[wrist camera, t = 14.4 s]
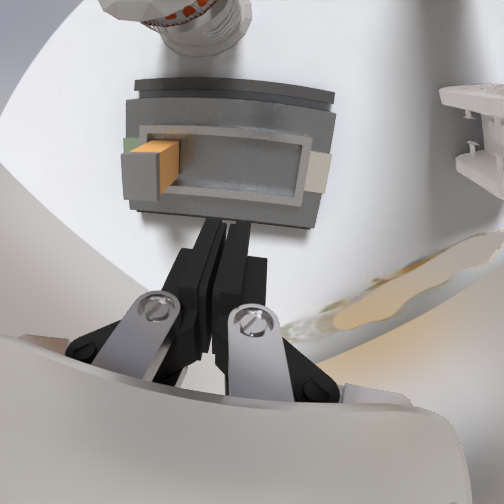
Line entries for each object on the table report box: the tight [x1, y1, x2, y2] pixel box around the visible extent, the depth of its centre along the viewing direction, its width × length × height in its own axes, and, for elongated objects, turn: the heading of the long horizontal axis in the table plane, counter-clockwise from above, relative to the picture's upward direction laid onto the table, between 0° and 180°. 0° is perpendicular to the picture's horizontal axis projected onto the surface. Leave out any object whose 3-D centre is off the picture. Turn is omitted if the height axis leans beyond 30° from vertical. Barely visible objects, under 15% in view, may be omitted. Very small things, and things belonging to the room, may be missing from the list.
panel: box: [123, 97, 336, 228], centre depth 27 cm, size 12×20×4 cm, turn 84°
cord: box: [134, 77, 335, 104], centre depth 24 cm, size 1×20×1 cm, turn 85°
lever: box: [121, 140, 179, 202], centre depth 23 cm, size 4×3×6 cm
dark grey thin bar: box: [137, 210, 310, 230], centre depth 31 cm, size 1×20×1 cm, turn 84°
